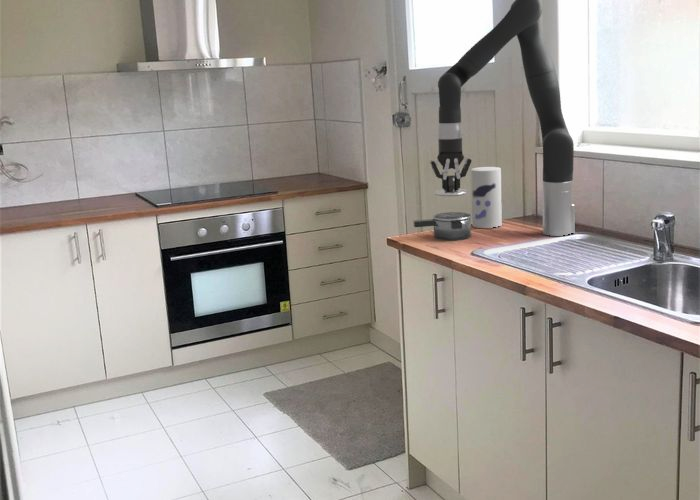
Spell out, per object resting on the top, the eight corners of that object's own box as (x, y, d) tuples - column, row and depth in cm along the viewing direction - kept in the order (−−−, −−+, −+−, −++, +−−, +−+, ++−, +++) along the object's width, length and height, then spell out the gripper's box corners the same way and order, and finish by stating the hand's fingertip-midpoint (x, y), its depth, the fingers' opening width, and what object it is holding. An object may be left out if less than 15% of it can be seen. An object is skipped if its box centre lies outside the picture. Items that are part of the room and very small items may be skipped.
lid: (463, 190, 258) (463, 172, 257) (470, 195, 248) (470, 177, 247) (432, 192, 257) (432, 174, 256) (438, 197, 247) (438, 178, 246)
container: (472, 229, 266) (470, 170, 262) (472, 223, 276) (471, 166, 271) (502, 228, 264) (501, 169, 260) (501, 222, 274) (500, 165, 269)
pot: (466, 231, 263) (466, 211, 261) (476, 240, 249) (476, 218, 247) (411, 235, 262) (410, 215, 260) (419, 244, 248) (418, 223, 246)
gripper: (469, 134, 253) (469, 187, 257) (426, 137, 252) (427, 190, 256) (474, 136, 245) (475, 191, 249) (430, 139, 244) (432, 193, 248)
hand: (451, 190), depth 252 cm, fingers closed on lid, 3 cm apart
